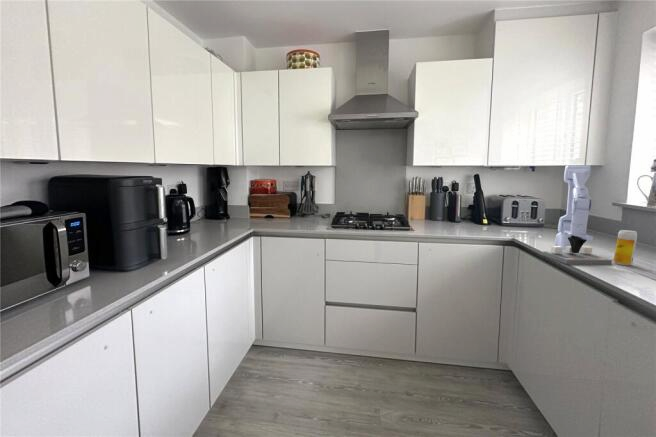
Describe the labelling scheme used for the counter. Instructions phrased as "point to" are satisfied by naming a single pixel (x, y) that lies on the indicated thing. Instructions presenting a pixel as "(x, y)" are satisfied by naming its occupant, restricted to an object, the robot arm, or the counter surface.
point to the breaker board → (577, 258)
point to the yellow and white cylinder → (625, 247)
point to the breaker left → (556, 249)
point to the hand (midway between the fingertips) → (575, 252)
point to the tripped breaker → (569, 250)
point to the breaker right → (586, 250)
